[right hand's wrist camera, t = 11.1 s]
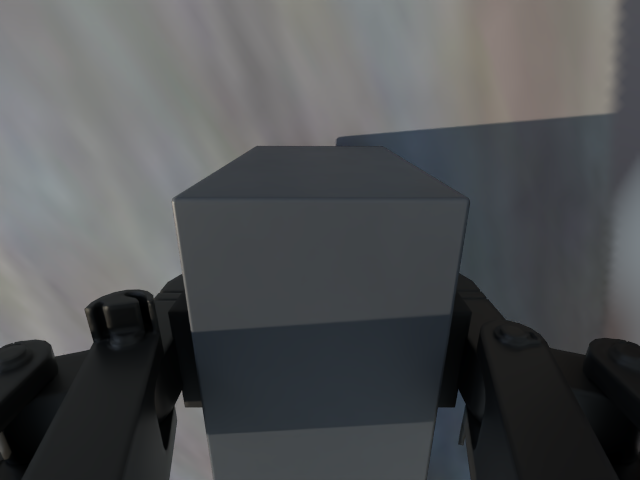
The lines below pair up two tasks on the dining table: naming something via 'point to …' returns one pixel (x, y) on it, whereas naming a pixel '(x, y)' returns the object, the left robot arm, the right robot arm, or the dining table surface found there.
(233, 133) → the dining table surface
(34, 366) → the right robot arm
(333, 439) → the bar
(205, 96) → the dining table surface
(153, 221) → the dining table surface
